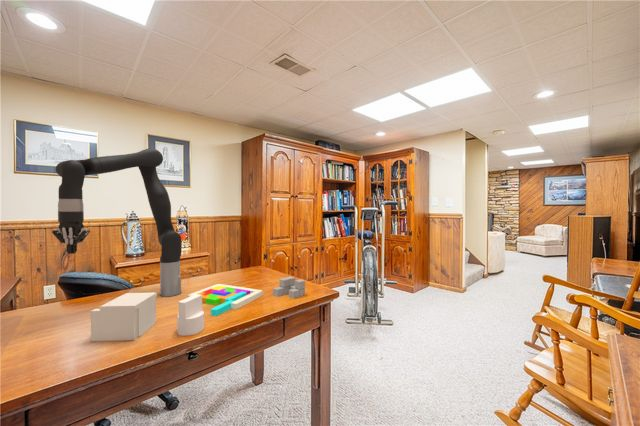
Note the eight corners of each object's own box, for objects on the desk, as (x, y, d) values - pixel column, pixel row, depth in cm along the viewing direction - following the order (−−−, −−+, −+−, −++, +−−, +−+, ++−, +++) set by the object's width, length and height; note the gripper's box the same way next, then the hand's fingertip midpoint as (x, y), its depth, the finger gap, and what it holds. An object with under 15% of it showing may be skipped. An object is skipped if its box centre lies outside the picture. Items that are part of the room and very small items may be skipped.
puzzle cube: (272, 295, 140) (272, 280, 139) (290, 290, 148) (290, 276, 148) (287, 301, 131) (287, 285, 131) (305, 295, 140) (305, 280, 139)
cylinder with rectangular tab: (190, 323, 105) (190, 293, 105) (209, 326, 103) (209, 295, 103) (171, 333, 97) (171, 301, 96) (191, 337, 94) (191, 303, 94)
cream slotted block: (91, 341, 91) (90, 306, 90) (118, 323, 105) (118, 293, 104) (135, 340, 92) (135, 305, 92) (157, 322, 106) (156, 292, 106)
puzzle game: (218, 288, 151) (170, 307, 123) (218, 283, 150) (170, 301, 123) (263, 296, 139) (221, 318, 111) (263, 290, 139) (221, 311, 111)
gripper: (95, 210, 111) (96, 251, 111) (61, 210, 110) (62, 252, 110) (81, 210, 103) (81, 255, 104) (44, 210, 102) (45, 255, 103)
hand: (71, 253), depth 107 cm, fingers closed
